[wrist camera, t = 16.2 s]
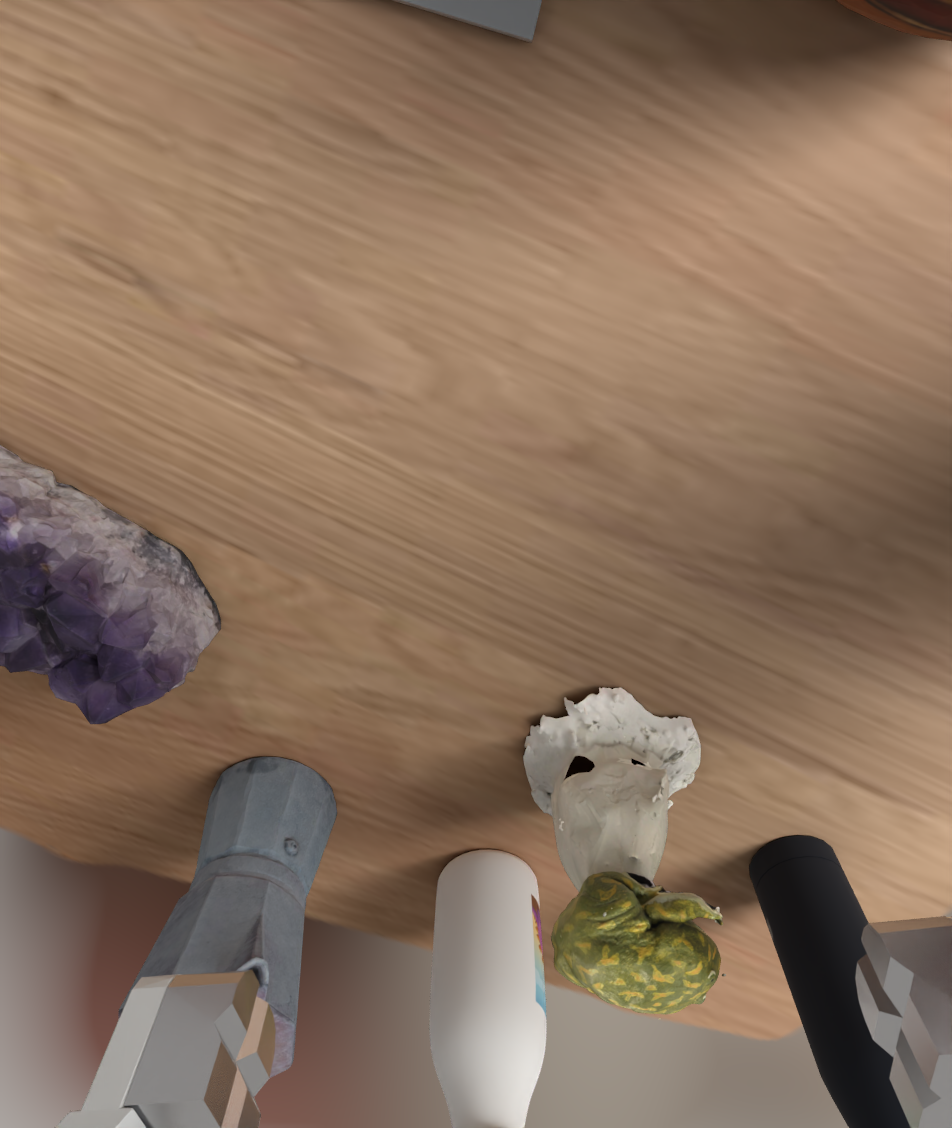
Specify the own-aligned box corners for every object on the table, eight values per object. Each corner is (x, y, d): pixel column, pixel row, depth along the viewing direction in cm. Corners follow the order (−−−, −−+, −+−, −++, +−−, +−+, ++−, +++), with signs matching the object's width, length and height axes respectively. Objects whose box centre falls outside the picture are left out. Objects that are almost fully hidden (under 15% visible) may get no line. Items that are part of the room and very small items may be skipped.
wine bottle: (853, 856, 57) (1162, 1463, 31) (792, 902, 60) (1028, 1498, 34) (791, 822, 56) (1061, 1435, 30) (730, 872, 58) (929, 1474, 32)
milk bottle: (417, 886, 60) (389, 1198, 42) (477, 831, 56) (473, 1143, 39) (496, 925, 62) (501, 1237, 44) (558, 873, 59) (588, 1187, 41)
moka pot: (380, 756, 53) (328, 1063, 35) (301, 887, 60) (226, 1198, 42) (248, 706, 51) (124, 1007, 33) (182, 848, 58) (51, 1159, 40)
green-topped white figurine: (634, 834, 56) (687, 1084, 42) (491, 777, 54) (493, 1023, 39) (726, 732, 51) (823, 975, 37) (574, 664, 49) (613, 897, 34)
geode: (267, 543, 45) (213, 664, 37) (200, 660, 51) (141, 785, 43) (-100, 362, 39) (-260, 460, 31) (-126, 518, 45) (-264, 633, 37)
